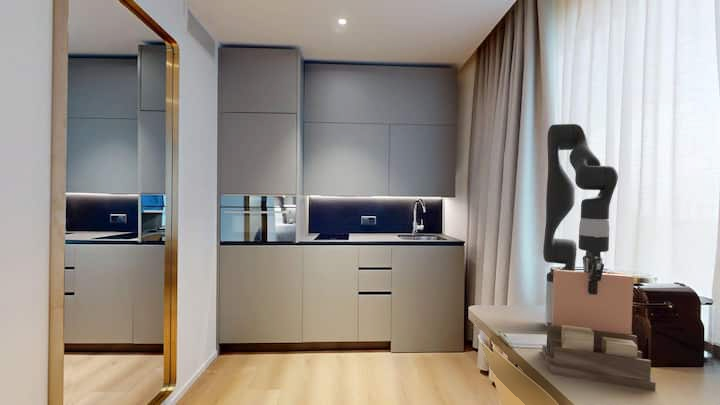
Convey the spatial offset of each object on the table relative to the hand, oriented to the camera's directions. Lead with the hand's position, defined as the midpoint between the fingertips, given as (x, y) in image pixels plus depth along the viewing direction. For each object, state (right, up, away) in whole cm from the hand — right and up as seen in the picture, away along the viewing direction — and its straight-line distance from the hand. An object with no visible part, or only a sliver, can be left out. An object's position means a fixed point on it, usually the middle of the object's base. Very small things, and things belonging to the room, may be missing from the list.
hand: (591, 292), depth 111 cm
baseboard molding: (-4, -21, +14) cm, 26 cm away
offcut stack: (-3, -19, -8) cm, 20 cm away
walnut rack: (-2, -21, -4) cm, 21 cm away
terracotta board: (0, -12, 0) cm, 12 cm away
